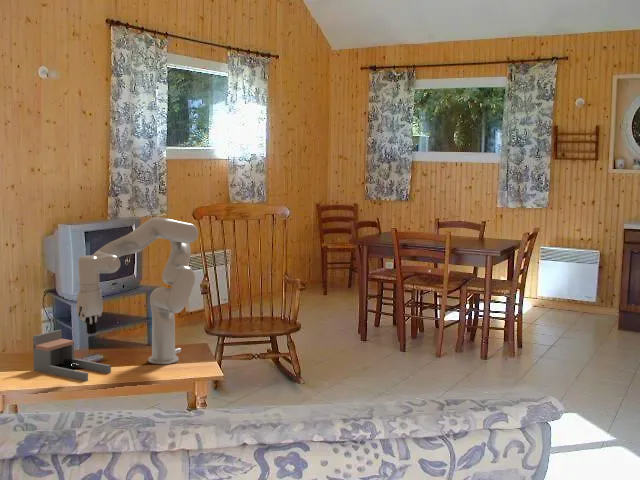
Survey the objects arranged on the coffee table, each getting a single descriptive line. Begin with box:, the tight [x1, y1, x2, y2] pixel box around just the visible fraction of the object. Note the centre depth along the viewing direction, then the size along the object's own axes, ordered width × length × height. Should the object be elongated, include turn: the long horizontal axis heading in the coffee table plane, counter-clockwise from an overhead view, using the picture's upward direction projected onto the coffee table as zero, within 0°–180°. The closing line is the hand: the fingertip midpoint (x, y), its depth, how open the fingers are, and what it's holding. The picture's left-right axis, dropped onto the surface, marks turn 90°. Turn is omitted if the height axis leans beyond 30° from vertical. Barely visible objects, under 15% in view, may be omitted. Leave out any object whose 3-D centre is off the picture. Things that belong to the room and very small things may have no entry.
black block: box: [61, 359, 77, 370], centre depth 300 cm, size 12×7×5 cm, turn 11°
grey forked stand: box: [32, 329, 112, 382], centre depth 297 cm, size 14×28×14 cm, turn 62°
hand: (91, 333), depth 292 cm, fingers closed
